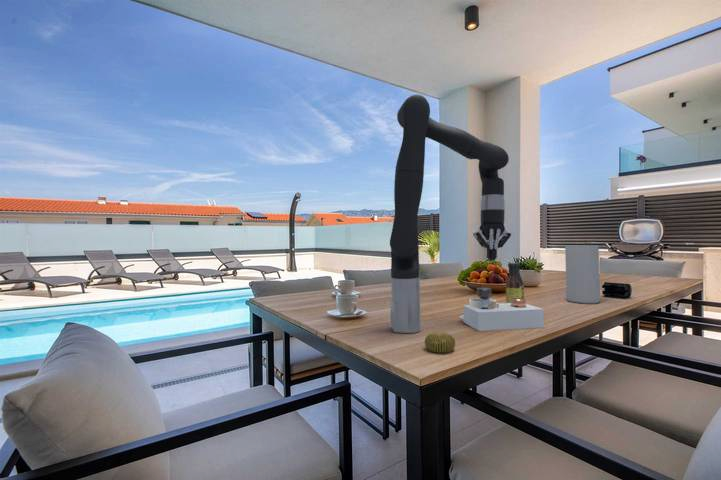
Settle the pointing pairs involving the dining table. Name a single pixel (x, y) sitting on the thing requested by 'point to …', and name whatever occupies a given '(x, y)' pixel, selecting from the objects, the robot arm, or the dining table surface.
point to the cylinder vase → (582, 274)
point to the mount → (503, 317)
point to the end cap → (616, 290)
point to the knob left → (484, 296)
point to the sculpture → (440, 342)
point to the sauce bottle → (514, 283)
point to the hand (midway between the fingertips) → (491, 260)
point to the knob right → (518, 302)
